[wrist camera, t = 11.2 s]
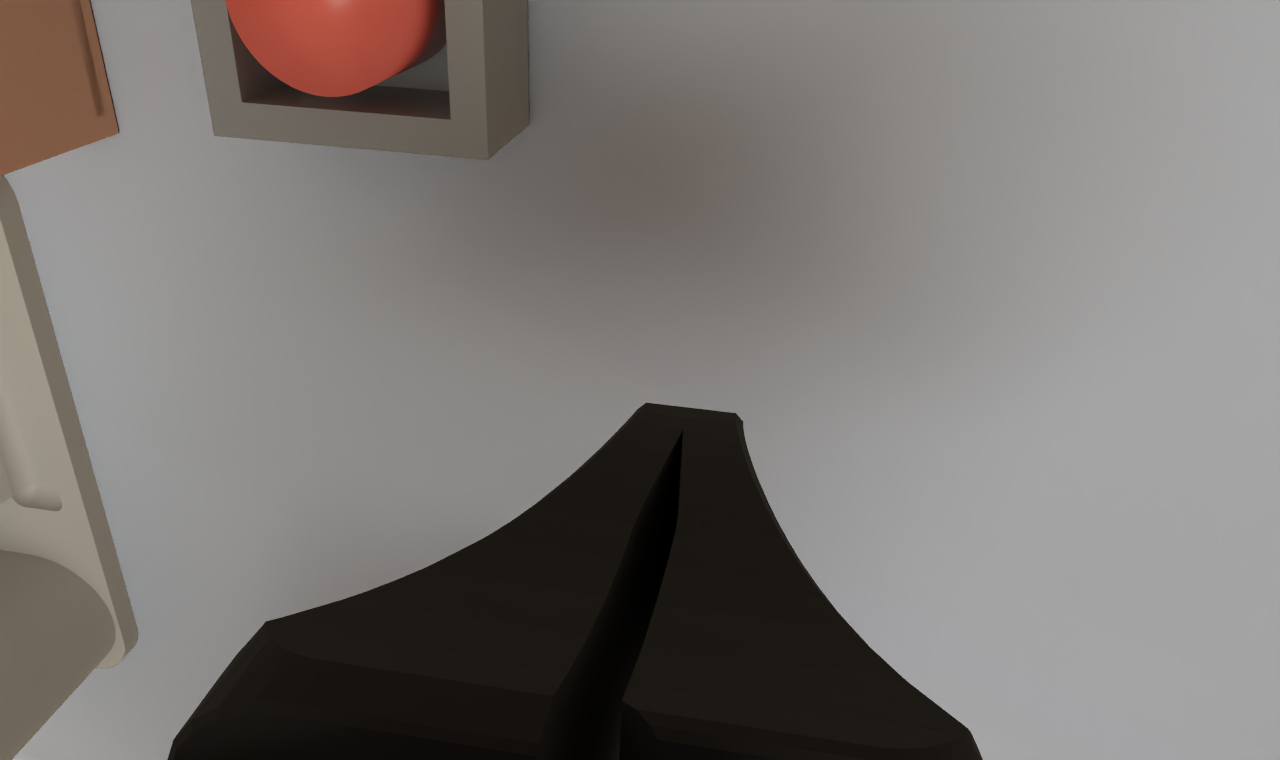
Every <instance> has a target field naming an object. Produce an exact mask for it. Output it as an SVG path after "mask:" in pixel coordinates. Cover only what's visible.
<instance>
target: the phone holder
mask: <svg viewBox="0 0 1280 760" xmlns="http://www.w3.org/2000/svg"><path fill="white" fill-rule="evenodd" d="M137 639H138V629H137V625H136V622H135V618H134V615H133V611H132V607H131V604H130V600H129V597H128V593H127V590H126V586H125V582H124V579H123V575H122V572H121V568H120V565H119V561H118V558H117V554H116V550H115V547H114V543H113V540H112V536H111V533H110V529H109V525H108V522H107V518H106V515H105V511H104V508H103V504H102V500H101V497H100V493H99V490H98V486H97V483H96V479H95V475H94V472H93V468H92V465H91V461H90V458H89V454H88V450H87V447H86V443H85V440H84V436H83V433H82V429H81V425H80V422H79V418H78V415H77V411H76V408H75V404H74V400H73V397H72V393H71V390H70V386H69V383H68V379H67V375H66V372H65V368H64V365H63V361H62V358H61V354H60V350H59V347H58V343H57V340H56V336H55V333H54V329H53V325H52V322H51V318H50V315H49V311H48V308H47V304H46V300H45V297H44V293H43V290H42V286H41V283H40V279H39V275H38V272H37V268H36V265H35V261H34V258H33V254H32V250H31V247H30V243H29V240H28V236H27V233H26V229H25V225H24V222H23V218H22V215H21V211H20V208H19V204H18V201H17V198H16V196H15V194H14V192H13V190H12V188H11V186H10V184H9V183H8V181H7V180H6V179H5V177H4V176H3V175H2V176H0V760H12V759H13V758H14V757H15V755H16V754H17V753H18V752H19V751H20V750H21V749H22V748H23V747H24V746H25V744H26V743H27V742H28V741H29V740H30V739H31V738H32V737H33V736H34V735H35V733H36V732H37V731H38V730H39V729H40V728H41V727H42V726H43V725H44V724H45V722H46V721H47V720H48V719H49V718H50V717H51V716H52V715H53V714H54V713H55V711H56V710H57V709H58V708H59V707H60V706H61V705H62V704H63V703H64V702H65V701H66V699H67V698H68V697H69V696H70V695H71V694H72V693H73V692H74V691H75V690H76V688H77V687H78V686H79V685H80V684H81V683H82V682H83V681H84V680H85V679H86V677H87V676H88V675H89V674H90V673H91V672H92V671H93V670H94V669H95V668H99V669H104V668H110V667H113V666H115V665H117V664H118V663H119V662H120V661H121V660H122V659H123V658H124V657H125V656H126V655H127V654H128V652H129V651H130V650H131V649H132V648H133V647H134V646H135V644H136V642H137Z"/></svg>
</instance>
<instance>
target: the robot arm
mask: <svg viewBox="0 0 1280 760" xmlns="http://www.w3.org/2000/svg"><path fill="white" fill-rule="evenodd" d="M168 760H983V759H982V757H981V754H980V752H979V750H978V747H977V745H976V743H975V740H974V738H973V736H972V734H971V732H970V731H969V730H968V728H966V727H965V726H964V725H963V724H961V723H960V722H959V721H957V720H956V719H955V718H954V717H952V716H951V715H950V714H948V713H947V712H946V711H945V710H943V709H942V708H941V707H939V706H938V705H937V704H935V703H934V702H933V701H932V700H930V699H929V698H928V697H926V696H925V695H924V694H923V693H921V692H920V691H919V690H917V689H916V688H915V687H913V686H912V685H911V684H910V683H908V682H907V681H906V680H905V679H904V678H903V677H901V676H900V675H899V674H898V673H897V672H896V671H895V670H894V669H893V668H892V667H891V666H890V665H888V664H887V663H886V662H885V661H884V660H883V659H882V658H881V657H880V656H879V655H878V654H877V653H875V652H874V651H873V650H872V649H871V648H870V647H869V646H868V645H867V644H866V642H865V641H864V640H863V639H862V638H861V637H860V636H859V635H858V634H857V633H856V632H855V630H854V629H853V628H852V627H851V626H850V625H849V624H848V623H847V622H846V621H845V619H844V618H843V617H842V616H841V615H840V614H839V613H838V612H837V610H836V609H835V608H834V607H833V605H832V604H831V603H830V601H829V600H828V599H827V598H826V596H825V595H824V594H823V592H822V591H821V590H820V589H819V587H818V586H817V584H816V583H815V582H814V580H813V579H812V577H811V576H810V574H809V573H808V571H807V570H806V569H805V567H804V566H803V564H802V563H801V561H800V559H799V558H798V556H797V555H796V553H795V551H794V550H793V548H792V546H791V545H790V543H789V541H788V540H787V538H786V536H785V534H784V532H783V531H782V529H781V527H780V525H779V523H778V521H777V520H776V518H775V516H774V513H773V511H772V509H771V507H770V505H769V503H768V501H767V499H766V496H765V494H764V492H763V489H762V487H761V485H760V483H759V480H758V478H757V475H756V473H755V470H754V467H753V465H752V461H751V458H750V455H749V452H748V449H747V445H746V441H745V437H744V430H743V421H742V420H741V419H740V418H739V416H738V415H737V414H736V413H729V412H720V411H712V410H703V409H695V408H686V407H678V406H669V405H660V404H652V403H645V404H644V405H643V406H641V407H640V408H639V409H637V411H636V412H635V413H634V414H633V415H632V416H631V417H630V418H629V419H628V421H627V422H626V423H625V424H624V425H623V426H622V427H621V428H620V429H619V430H618V431H617V432H616V433H615V434H614V435H613V436H612V437H611V438H610V439H609V440H608V441H607V442H606V443H605V444H604V445H603V446H602V447H601V448H600V449H599V450H598V451H597V452H596V453H595V454H594V455H593V456H592V457H591V458H590V459H588V460H587V461H586V462H585V463H584V464H583V465H582V466H581V467H580V468H579V469H578V470H577V471H576V472H574V473H573V474H572V475H571V476H570V477H569V478H567V479H566V480H565V481H564V482H562V483H561V484H560V485H559V486H557V487H556V488H555V489H554V490H552V491H551V492H550V493H549V494H547V495H546V496H545V497H544V498H542V499H541V500H540V501H539V502H538V503H536V504H535V505H534V506H532V507H531V508H529V509H528V510H527V511H525V512H524V513H522V514H521V515H520V516H518V517H517V518H515V519H514V520H512V521H511V522H509V523H508V524H506V525H505V526H503V527H501V528H500V529H498V530H497V531H495V532H493V533H492V534H490V535H488V536H487V537H485V538H483V539H481V540H479V541H477V542H476V543H474V544H472V545H470V546H468V547H466V548H464V549H462V550H460V551H458V552H456V553H454V554H452V555H450V556H448V557H446V558H444V559H442V560H440V561H438V562H436V563H434V564H432V565H430V566H428V567H426V568H424V569H422V570H419V571H417V572H415V573H412V574H410V575H407V576H405V577H403V578H400V579H398V580H396V581H393V582H390V583H388V584H385V585H382V586H380V587H377V588H374V589H372V590H369V591H367V592H364V593H361V594H358V595H355V596H352V597H349V598H346V599H343V600H340V601H337V602H333V603H330V604H326V605H323V606H320V607H316V608H313V609H310V610H306V611H303V612H299V613H296V614H293V615H289V616H286V617H282V618H278V619H274V620H270V621H266V622H265V623H264V625H263V626H262V627H261V628H260V629H259V630H258V632H257V633H256V634H255V635H254V636H253V637H252V638H251V639H250V641H249V642H248V643H247V644H246V645H245V646H244V647H243V648H242V649H241V651H240V652H239V653H238V654H237V655H236V656H235V658H234V659H233V660H232V662H231V663H230V664H229V666H228V667H227V668H226V669H225V671H224V672H223V673H222V675H221V676H220V677H219V679H218V680H217V681H216V683H215V684H214V685H213V687H212V688H211V690H210V691H209V692H208V694H207V695H206V696H205V698H204V699H203V700H202V702H201V703H200V705H199V706H198V707H197V709H196V710H195V711H194V713H193V714H192V715H191V717H190V718H189V719H188V721H187V722H186V724H185V725H184V726H183V728H182V729H181V730H180V732H179V733H178V734H177V736H176V737H175V739H174V740H173V744H172V747H171V750H170V754H169V757H168Z"/></svg>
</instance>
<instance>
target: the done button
mask: <svg viewBox="0 0 1280 760" xmlns="http://www.w3.org/2000/svg"><path fill="white" fill-rule="evenodd" d="M225 2H226V6H227V9H228V12H229V15H230V18H231V20H232V22H233V24H234V27H235V29H236V31H237V33H238V34H239V36H240V38H241V40H242V41H243V43H244V44H245V46H246V47H247V49H248V50H249V51H250V53H251V54H252V55H253V56H254V57H255V59H256V60H257V61H258V62H259V63H260V64H261V65H262V66H263V67H264V68H265V69H266V70H267V71H269V72H270V73H271V74H272V75H274V76H275V77H276V78H278V79H279V80H280V81H282V82H284V83H286V84H287V85H289V86H291V87H293V88H295V89H298V90H300V91H302V92H306V93H309V94H312V95H317V96H324V97H341V96H348V95H352V94H355V93H358V92H361V91H363V90H365V89H367V88H369V87H371V86H374V85H376V84H378V83H380V82H382V81H384V80H386V79H389V78H391V77H393V76H395V75H397V74H399V73H401V72H404V71H406V70H408V69H410V68H412V67H414V66H416V65H419V64H421V63H423V62H425V61H427V60H428V59H430V58H431V57H433V56H434V55H435V54H437V53H438V52H439V51H440V50H441V49H442V48H443V47H444V45H445V44H446V43H447V40H446V21H445V2H444V0H225Z"/></svg>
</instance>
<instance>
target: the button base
mask: <svg viewBox="0 0 1280 760" xmlns="http://www.w3.org/2000/svg"><path fill="white" fill-rule="evenodd" d="M444 2H445V21H446V40H447V43H446V44H445V45H444V47H443V48H442V49H441V50H440V51H439V52H438V53H437V54H435V55H434V56H433V57H431V58H430V59H428V60H427V61H425V62H423V63H421V64H419V65H416V66H414V67H412V68H410V69H408V70H406V71H404V72H401V73H399V74H397V75H395V76H393V77H391V78H389V79H386V80H384V81H382V82H380V83H378V84H376V85H374V86H371V87H369V88H367V89H365V90H363V91H361V92H358V93H355V94H352V95H348V96H341V97H324V96H317V95H312V94H309V93H306V92H302V91H300V90H298V89H295V88H293V87H291V86H289V85H287V84H286V83H284V82H282V81H280V80H279V79H278V78H276V77H275V76H274V75H272V74H271V73H270V72H269V71H267V70H266V69H265V68H264V67H263V66H262V65H261V64H260V63H259V62H258V61H257V60H256V59H255V57H254V56H253V55H252V54H251V53H250V51H249V50H248V49H247V47H246V46H245V44H244V43H243V41H242V40H241V38H240V36H239V34H238V33H237V31H236V29H235V27H234V24H233V22H232V20H231V18H230V15H229V12H228V9H227V6H226V2H225V0H191V4H192V10H193V16H194V22H195V27H196V33H197V39H198V45H199V50H200V56H201V62H202V68H203V73H204V79H205V85H206V91H207V96H208V102H209V108H210V114H211V119H212V125H213V131H214V136H223V137H234V138H245V139H257V140H268V141H280V142H291V143H302V144H314V145H325V146H337V147H348V148H359V149H371V150H382V151H394V152H405V153H416V154H428V155H439V156H451V157H462V158H474V159H485V160H488V159H489V158H491V157H492V156H493V155H494V154H495V153H496V152H498V151H499V150H500V149H501V148H502V147H503V146H505V145H506V144H507V143H508V142H509V141H510V140H511V139H513V138H514V137H515V136H516V135H517V134H518V133H520V132H521V131H522V130H523V129H524V128H525V127H527V126H528V125H529V73H528V0H444Z"/></svg>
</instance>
